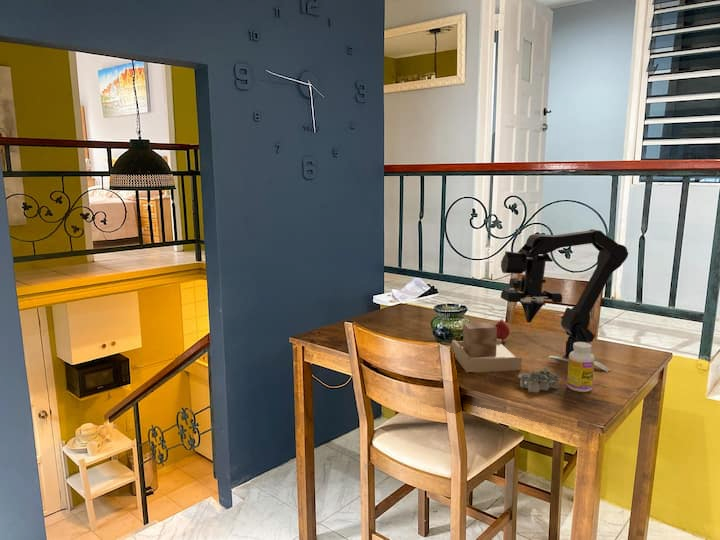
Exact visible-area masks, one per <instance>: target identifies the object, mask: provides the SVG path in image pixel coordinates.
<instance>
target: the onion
mask: <svg viewBox="0 0 720 540" xmlns="http://www.w3.org/2000/svg"><path fill="white" fill-rule="evenodd" d="M495 326H496V327H497V339H501V340H502V342H503V341H504V340H506V339H507V338H509V336H510V333H511V329H510V327H509V325H508V324H507V323H506V322H504V319H503V318H501V319H500V321H499V322H497V323H496V324H495Z"/></svg>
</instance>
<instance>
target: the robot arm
mask: <svg viewBox="0 0 720 540" xmlns="http://www.w3.org/2000/svg"><path fill="white" fill-rule="evenodd" d="M589 244H592V246H593V247H594V248H595V249H596V250H597V251H598V254H597V260H596V263H597V264H596V267H595V269H594V272H593V274H592V275H591V276H590V279H589V281H588V283H587V285H586V286H585V288H584V290H583V291H582V293H581V295H580V296H579V299H578V301H577V302H576V304H575V305H574V306H573V307H571V308H570V307H566V308H565V310H564V313H563V314H562V316H561V317H560V318H561V321H560V325H561V328H562V329H563V330H564V331H565V334H566V335H567V336H568V337H567V340H566V341H565V354H564V357H566V358H569V354H570V353H571V352H572V351H574V349H573V344H574V343H575V342H585V343H589V344H591V342H593V341H594V338H595V334H594V333H593V332H592V331H591V330H590V329H589V326H590V323H591V312H592V310H593V308H594V307H595V305H596V302H597V301H598V299H599V297H600V295H601V294H602V291H603V290H604V288H605V286H606V284H607V283H608V280H609V279H610V277H611V276H612V274H613V273H614V272H615V271H617V269H619V268H620V267H621V266H623V264H624V262H625V261H626V260H627V259H628V256H629V252H628V248H627V247H626V246H625V245H624V244H619V243H618V242H617V241H615V240H614V239H612V238H610V237H609V236H607V234H605V233H603V231H602V230H598V229H594V228H591V229H588V230H584V231H577V232H570V233H569V232H567V233H561V234H542V233H541V234H540V233H533V234H531V235H529V236H528V238H527V239H526V242H525V243H524V245H523V246H521V248H520V249H519V250H518V251H517V252H515V251H505V253H504V255H503V257H502V259H501V262H500V269H501V271H502V273H503V274H517V275H519V274H520V275H522V274H523V273H524V275H522V277H521V280H518V278H516V277H511V278H509V282H508V283H509V284H508V286H509V288H510V289H503V290H502V291H501V294H500V298H501V299H502V300H504V301H506V302H509V303H520V304H521V306H522V308H523V312H524V316H525V321H526V323H528V324H529V323H531V322H533V319H534V318H535V316H536V314H537V313H538V312H539V311H540V310H541V308H542V307H543V306H545V305H546V302H544V301H545V300H551V301H552V303H557V304H558V303H562V302H563V295H562V294H561V293H560V292H558V291H555V290H550V289H549V290H545V289H544V290H543V286H544V285H543V284H544V283H545V284H546V279H545V278H544V277H545V271H546V270H545V269H546V262H547V263H548V262H554V259H553V258H552V257H551V256H550V254H548V253H552V252H555V251H556V250H559V249H562V248H568V247H576V246H582V245H589Z"/></svg>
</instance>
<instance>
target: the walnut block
mask: <svg viewBox="0 0 720 540" xmlns="http://www.w3.org/2000/svg"><path fill="white" fill-rule="evenodd" d="M495 325H496V324H495ZM495 325H494V323H492V322H489V321H487V322H469V323H466V322H465V323H463V327H462V329H463V331H462V332H463V333H462V335H463V337H462V341H463V350H464V351H465V352H466V353H467V354H468V356H469V357H470V358H474V357H494V356H496V342H497V327H496V326H495Z"/></svg>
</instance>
